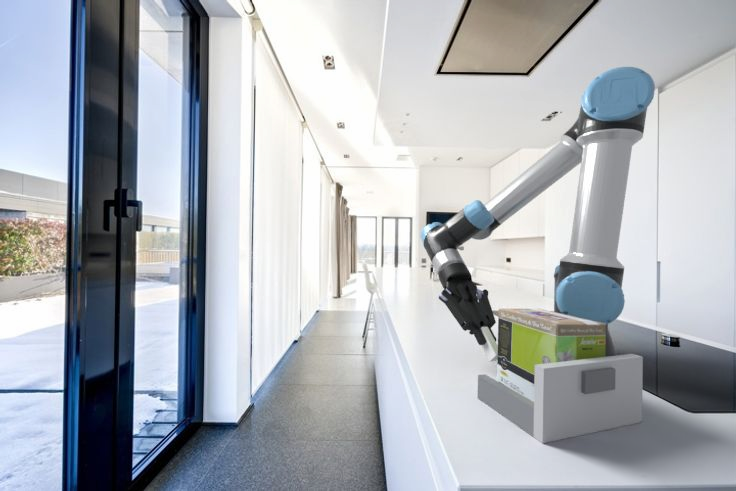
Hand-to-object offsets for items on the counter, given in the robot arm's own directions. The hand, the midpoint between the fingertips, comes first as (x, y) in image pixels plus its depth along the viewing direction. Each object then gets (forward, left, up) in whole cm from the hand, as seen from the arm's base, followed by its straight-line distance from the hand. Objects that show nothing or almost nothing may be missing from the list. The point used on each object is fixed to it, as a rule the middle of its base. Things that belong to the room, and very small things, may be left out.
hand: (495, 358), depth 64 cm
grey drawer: (-1, +13, -4) cm, 14 cm away
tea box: (-3, +9, -4) cm, 11 cm away
